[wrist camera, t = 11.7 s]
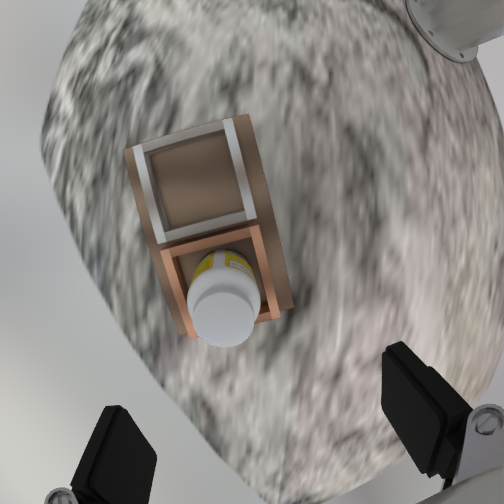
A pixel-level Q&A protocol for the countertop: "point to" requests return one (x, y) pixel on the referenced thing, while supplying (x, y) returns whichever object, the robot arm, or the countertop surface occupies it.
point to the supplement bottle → (223, 298)
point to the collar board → (207, 211)
